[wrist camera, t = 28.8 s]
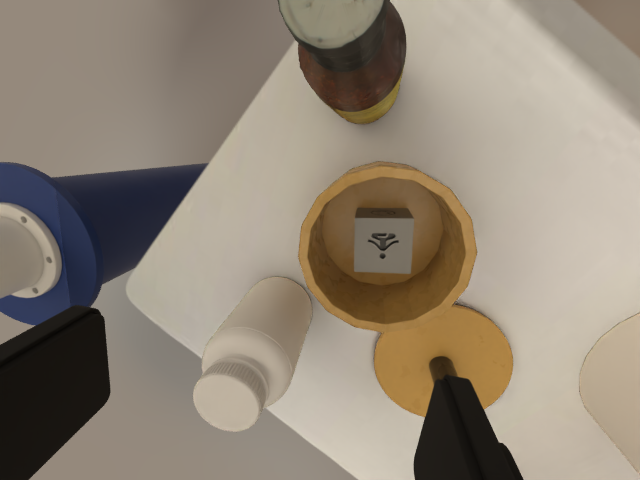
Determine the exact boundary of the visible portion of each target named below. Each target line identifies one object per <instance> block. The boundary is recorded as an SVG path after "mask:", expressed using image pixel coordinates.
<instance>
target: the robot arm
mask: <svg viewBox="0 0 640 480" xmlns="http://www.w3.org/2000/svg"><path fill="white" fill-rule="evenodd" d="M61 269H62V259H61V253H60V250H59V246H58V244H57V242H56V239H55V237H54V236H53V234H52V233H51V231H50V229H49V228H48V227H47V226H46V225H45V223H44V222H43V221H42V220H41V219H39V218H38V217H37V216H36V215H35V214H34V213H32V212H31V211H29V210H28V209H26V208H24V207H21V206H19V205H16V204H12V203H4V202H1V203H0V298H3V297H5V296H8V295H10V294H11V295H14V296H17V297H22V298H32V297H37V296H39V295H42V294H44V293H46V292H48V291H50V290H51V289H52V288H53V287H54V286H55V285H56V284H57V282H58V280H59V278H60V275H61ZM106 345H107V344H106V334H105V321H104V317H103V316H102V315H101V313H100V312H99V310H98V309H95V308H90V307H85V306H79V305H75V306H72V307H70V308H68V309H66V310H64V311H62V312H60V313H59V314H57V315H55V316H53V317H51V318H49V319H47V320H46V321H44V322H42V323H40V324H38V325H36V326H34V327H33V328H31V329H29V330H27V331H25V332H23V333H21V334H20V335H18V336H16V337H14V338H12V339H10V340H8V341H7V342H5V343H3V344H1V345H0V480H29V479H30V478H31V477H32V476H33V475H34V474H35V473H36V472H37V471H38V470H39V469H40V468H41V467H42V466H43V465H44V464H45V463H46V462H47V461H48V460H49V459H50V458H51V457H52V456H53V455H54V454H55V453H56V452H57V451H58V450H59V449H60V448H61V447H62V446H63V445H64V444H65V443H66V442H67V441H68V440H69V439H70V438H71V437H72V436H73V435H74V434H75V433H76V432H77V431H78V430H79V429H80V428H81V427H83V426H84V425H85V423H87V422H88V421H89V419H91V418H92V417H93V415H95V414H96V413H97V412H98V411H99V410H100V409H101V408H102V407H103V406H104V404H105V403H106V402H107V400H108V398H109V396H110V380H109V369H108V356H107V346H106ZM414 476H415V480H523V477H522V475H521V473H520V471H519V469H518V467H517V465H516V463H515V461H514V459H513V457H512V455H511V453H510V451H509V450H508V448H507V447H506V446H505V445H504V444H503V443H499V442H498V440H497V438H496V435H495V433H494V431H493V429H492V427H491V424H490V422H489V420H488V418H487V416H486V414H485V411H484V409H483V407H482V405H481V403H480V400H479V398H478V396H477V394H476V392H475V390H474V387H473V385H472V383H471V381H470V380H469V379H467V378H462V377H456V376H451V375H444V377H443V379H442V380H441V379H436V381H435V383H434V387H433V391H432V394H431V398H430V402H429V405H428V409H427V413H426V416H425V420H424V424H423V427H422V431H421V435H420V438H419V442H418V446H417V449H416V453H415V457H414Z"/></svg>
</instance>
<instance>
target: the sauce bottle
mask: <svg viewBox="0 0 640 480" xmlns="http://www.w3.org/2000/svg"><path fill="white" fill-rule="evenodd" d="M278 4H279V10H280V12H281V15H282V17H283V19H284V21H285V24H286V26H287V27H288V28H289V30H290V32H291V34H292V35H293V37H294V38H295V40H296V41H297V42H298V43H299V44H298V55H299V62H300V68H301V70H302V71H303V74H304V77H305V78H306V80H307V82H308V83H309V85H310V86H311V88H312V89H313V90H314V91H315V93H316V94H317V95H318V96H319V98H320V99H321V100H322V101H323V102H324V103H326V104H327V105H328V106H329V107H330V108H331V109H333V110H334V111H335V112H336V113H337V114H339V115H340V116H341V117H342V118H345V119H346V120H347V121H350V122H352V123H358V124H365V123H370V122H374V121H375V120H378V119H379V118H380V117H382V116H383V115H384V114H385V113H387V112H388V110H389V109H390V108H391V106H392V105H393V103H394V102H395V99H396V97H397V94H398V90H399V86H400V81H401V77H402V73H403V68H404V63H405V57H406V35H405V29H404V26H403V22H402V20H401V17H400V15H399V13H398V12H397V10H396V9H395V7H394V6H393V5H392V3H391V2H390V0H278Z"/></svg>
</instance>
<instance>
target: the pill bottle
mask: <svg viewBox="0 0 640 480" xmlns="http://www.w3.org/2000/svg"><path fill="white" fill-rule="evenodd" d="M311 318H312V304H311V301H310V298H309V296H308V294H307V293H306V291H305V290H304V289H303V288H302V287H301V286H300V285H299V284H297V283H296V282H294V281H292V280H290V279H287V278H283V277H270V278H266V279H263V280H261V281H260V282H258V283H257V284H255V285H254V286H253V287H252V288H251V289H250V290H249V292H248V293H247V294H246V295H245V297H244V298H243V299H242V300H241V302H240V303H239V304H238V305H237V306H236V308H235V309H234V310H233V311H232V313H231V314H230V315H229V316H228V318H227V319H226V320H225V321H224V322H223V324H222V325H221V326H220V327H219V329H218V330H217V331H216V332H215V334H214V335H213V336H212V337H211V339H210V340H209V341H208V343H207V345H206V347H205V350H204V353H203V357H202V371H203V375H202V376H201V378H200V379H199V381H198V382H197V383H196V385H195V388H194V392H193V400H194V404H195V407H196V409H197V411H198V412H199V414H200V415H201V416H202V417H203V419H204V420H206V421H207V422H208V423H209V424H211V425H212V426H214V427H217V428H219V429H221V430H225V431H231V432H233V431H234V432H236V431H242V430H246V429H248V428H250V427H251V426H253V425H254V424H255V423H256V422H257V420H258V418H259V417H260V414H261V412H262V410H263V408H265V407H267V406H270V405H272V404H273V403H275V402H276V401H277V400H279V399H280V398H281V397H282V396H283V394H284V393H285V392H286V391H287V389H288V387H289V385H290V383H291V380H292V377H293V374H294V371H295V368H296V365H297V362H298V359H299V356H300V353H301V349H302V346H303V343H304V340H305V337H306V334H307V331H308V328H309V325H310V322H311Z"/></svg>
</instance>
